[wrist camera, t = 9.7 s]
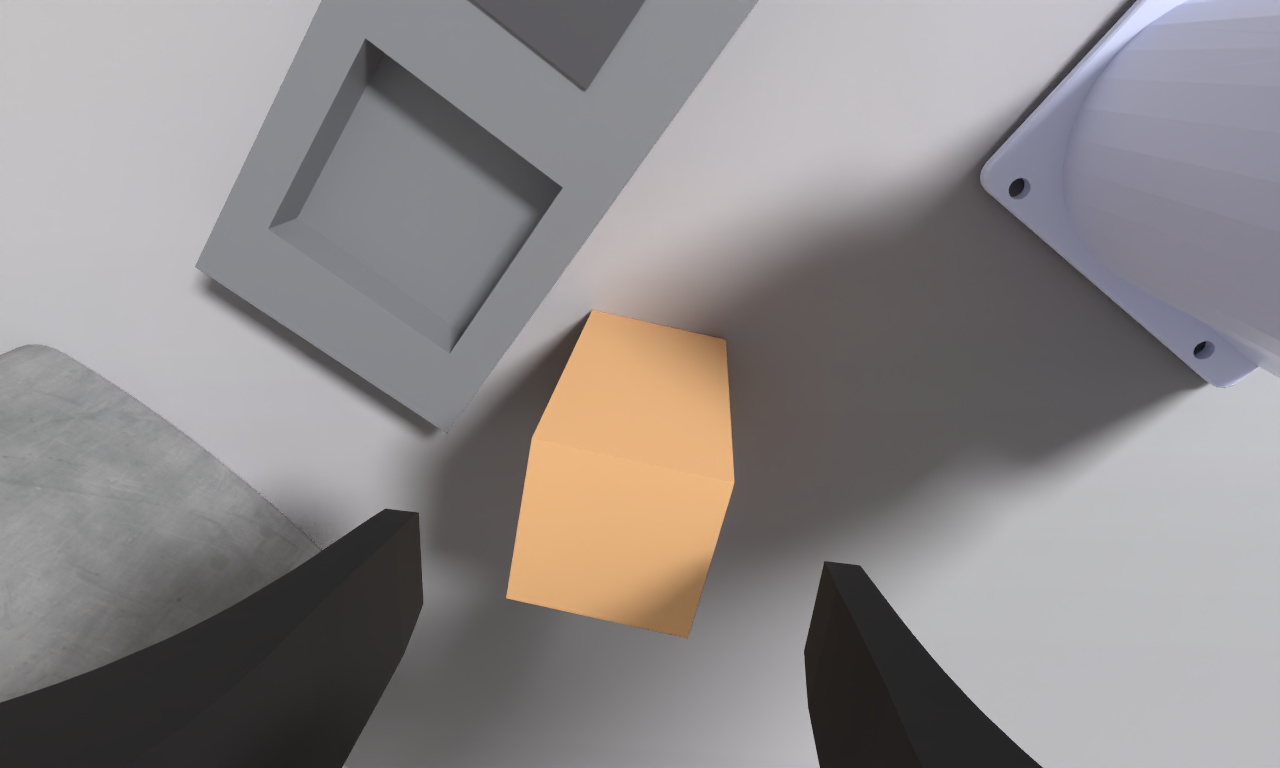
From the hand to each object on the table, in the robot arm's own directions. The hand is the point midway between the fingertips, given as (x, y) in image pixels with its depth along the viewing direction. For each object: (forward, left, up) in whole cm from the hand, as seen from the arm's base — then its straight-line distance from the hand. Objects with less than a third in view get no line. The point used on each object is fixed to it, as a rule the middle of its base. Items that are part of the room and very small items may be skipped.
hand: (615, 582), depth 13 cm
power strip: (+8, -7, -10) cm, 15 cm away
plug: (0, +1, -10) cm, 10 cm away
